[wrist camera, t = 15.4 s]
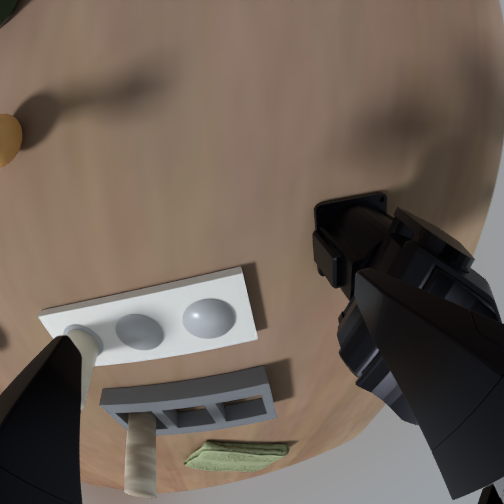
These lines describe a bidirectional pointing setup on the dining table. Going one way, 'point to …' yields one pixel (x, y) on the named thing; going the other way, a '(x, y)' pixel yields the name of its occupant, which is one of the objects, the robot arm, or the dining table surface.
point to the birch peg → (141, 455)
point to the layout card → (156, 321)
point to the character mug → (6, 9)
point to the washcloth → (235, 456)
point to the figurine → (9, 138)
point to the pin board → (196, 402)
